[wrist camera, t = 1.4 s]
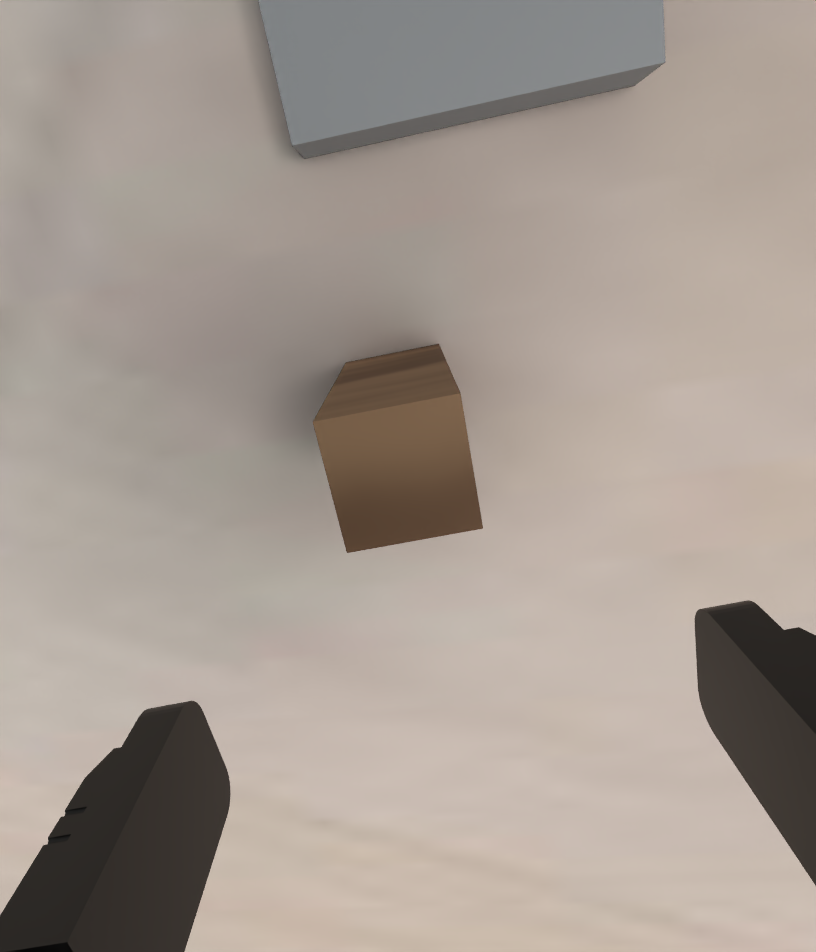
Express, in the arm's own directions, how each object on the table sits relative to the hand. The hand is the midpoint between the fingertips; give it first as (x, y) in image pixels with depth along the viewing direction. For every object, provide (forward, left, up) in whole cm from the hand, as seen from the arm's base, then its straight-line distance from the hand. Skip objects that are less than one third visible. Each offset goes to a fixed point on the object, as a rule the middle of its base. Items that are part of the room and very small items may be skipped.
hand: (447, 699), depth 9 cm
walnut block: (0, -1, -21) cm, 21 cm away
